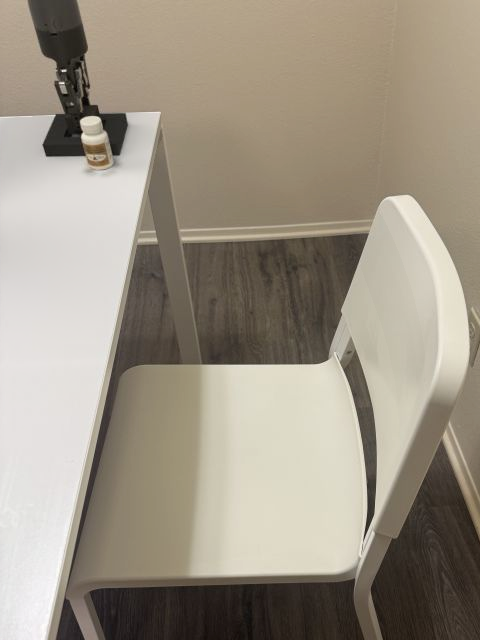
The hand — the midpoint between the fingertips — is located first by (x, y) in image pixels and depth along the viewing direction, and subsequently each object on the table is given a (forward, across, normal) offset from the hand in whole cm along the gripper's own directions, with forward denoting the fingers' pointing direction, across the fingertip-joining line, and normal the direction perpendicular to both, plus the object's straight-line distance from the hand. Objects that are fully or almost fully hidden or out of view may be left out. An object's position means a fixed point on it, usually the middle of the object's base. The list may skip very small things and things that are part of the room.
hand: (84, 125), depth 111 cm
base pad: (+3, 0, 0) cm, 3 cm away
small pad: (0, 0, 0) cm, 0 cm away
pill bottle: (+3, +9, +4) cm, 10 cm away
